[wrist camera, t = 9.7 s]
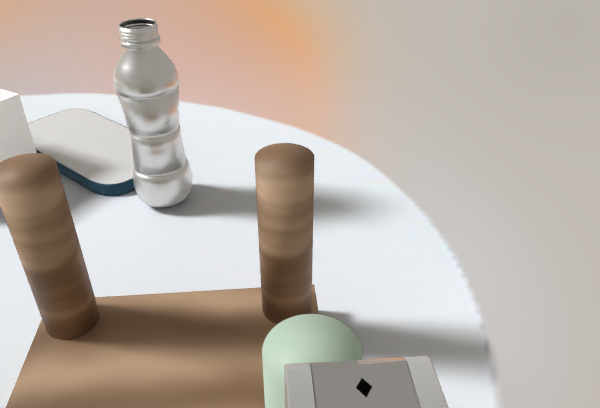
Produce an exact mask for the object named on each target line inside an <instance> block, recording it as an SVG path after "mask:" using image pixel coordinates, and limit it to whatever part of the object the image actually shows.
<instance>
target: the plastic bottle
mask: <svg viewBox="0 0 600 408" xmlns="http://www.w3.org/2000/svg"><path fill="white" fill-rule="evenodd" d="M118 26H119V27H118V29H119V34H120V45H121V46H122V47H124V51H123V53H122V55H121V57H120V59H119V60H118V62H117V65H116V67H115V70H114V76H113V83H114V87H115V90H116V92H117V96H118V98H119V101H120V104H121V107H122V109H123V112H124V115H125V119H126V123H127V127H128V129H129V134H130V138H131V144H132V154H133V163H134V166H133V182H134V187H135V190H136V192H137V195H138V197H139V198H140V199H141V200H142V201H143V202H144V203H146V204H147V205H149V206H152V207H159V208H162V207H170V206H173V205H176V204H178V203H180V202H182V201H183V200H184V199H185V198H186V197H187V196H188V194H189V193H190V191H191V187H192V173H191V170H190V166H189V163H188V160H187V158H186V156H185V151H184V147H183V143H182V138H181V134H180V125H179V111H178V93H179V90H178V89H179V86H178V83H179V80H178V72H177V70H176V68H175V66H174V64H173V63H172V62H171V60H170V59H169V58H168V56H167V55H166V54H165V53H164V52H163V51H162V50H161V49H160V48H159V46H158V44H159V43H160V36H159V34H158V27H157V22H156V21H155V20H153V19H147V18H137V19H130V20H126V21H123V22H121V23H119V25H118Z"/></svg>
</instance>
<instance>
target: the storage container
mask: <svg viewBox="0 0 600 408" xmlns="http://www.w3.org/2000/svg"><path fill="white" fill-rule="evenodd" d="M29 153H37V152H36V149H35V146H34V143H33V139H32V136H31V133H30V129H29V126H28V123H27V120H26V116H25V113H24V110H23V106H22V103H21V100H20V97H19V94H17V93H13V92H10V91H6V90H3V89H0V162H1V161H3V160H6V159H8V158H11V157H14V156H17V155H22V154H29Z"/></svg>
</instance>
